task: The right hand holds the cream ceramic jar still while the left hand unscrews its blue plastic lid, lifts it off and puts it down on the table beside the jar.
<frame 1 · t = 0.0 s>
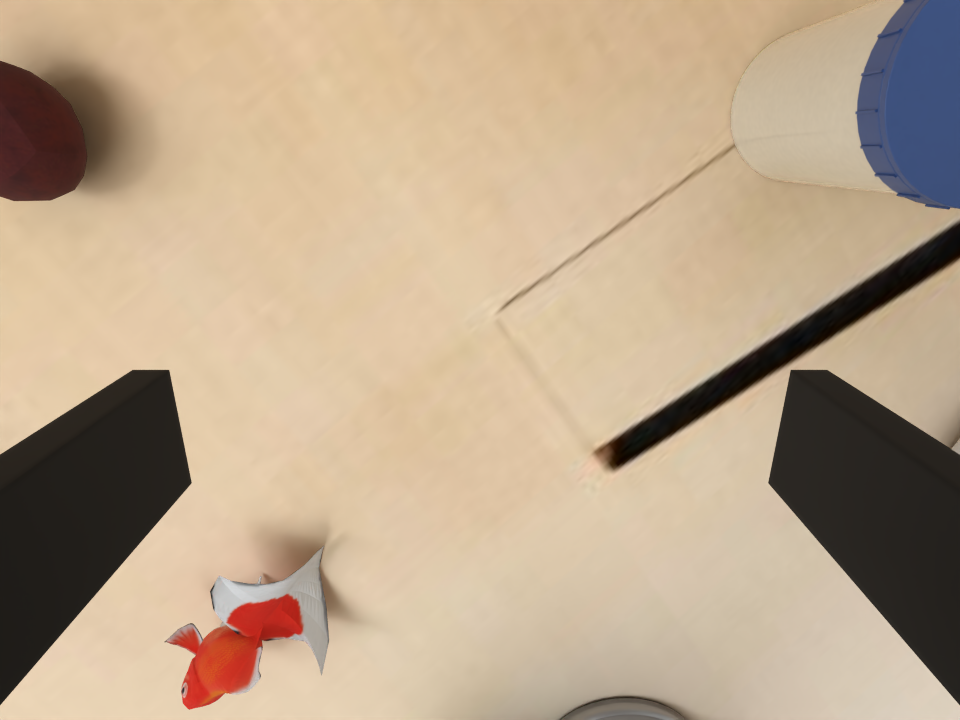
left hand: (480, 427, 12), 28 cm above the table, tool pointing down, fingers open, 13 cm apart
dark piece: (55, 136, 37), on the table
fish: (270, 587, 49), on the table
jar: (801, 108, 36), on the table
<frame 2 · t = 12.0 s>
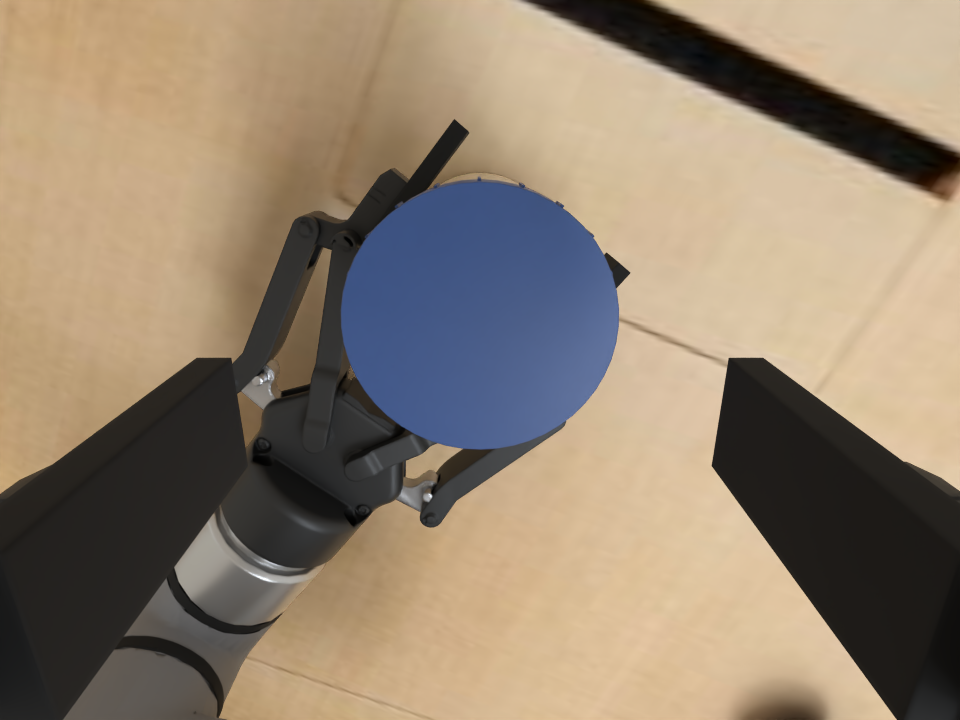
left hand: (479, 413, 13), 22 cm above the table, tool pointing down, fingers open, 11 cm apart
right hand: (542, 197, 27), fingers closed on jar, 9 cm apart
lid: (479, 324, 20), point 15 cm above the table, screwed on, not yet turned
jar: (479, 251, 34), on the table, touching right hand
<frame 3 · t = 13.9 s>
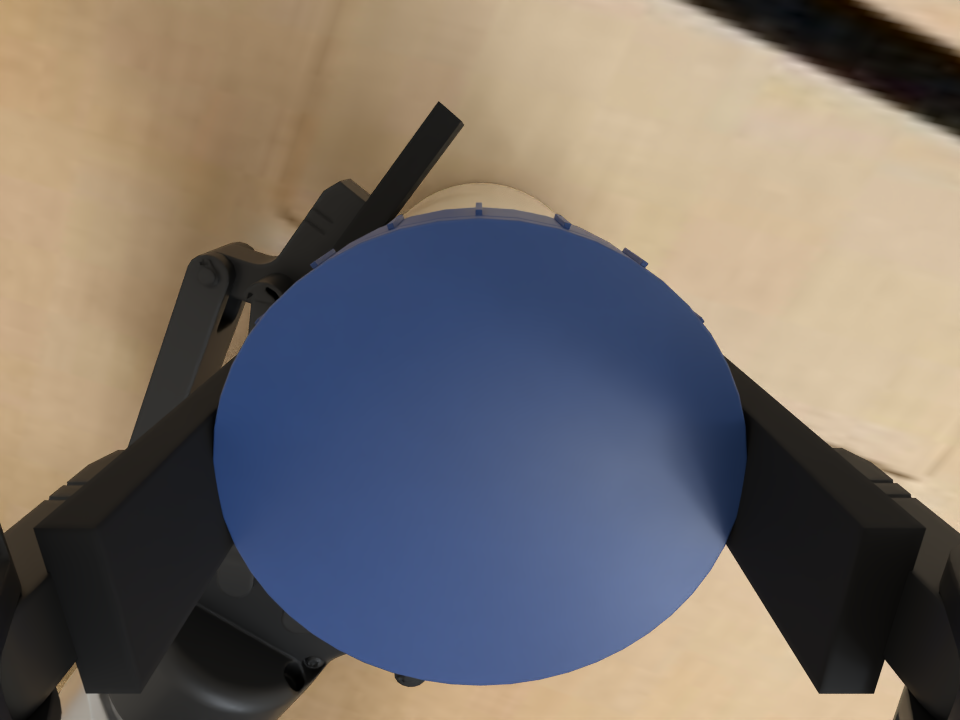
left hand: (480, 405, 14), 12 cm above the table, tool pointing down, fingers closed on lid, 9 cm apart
right hand: (576, 223, 17), fingers closed on jar, 9 cm apart
lid: (479, 478, 11), point 15 cm above the table, screwed on, not yet turned, touching left hand
jar: (480, 290, 25), on the table, touching right hand
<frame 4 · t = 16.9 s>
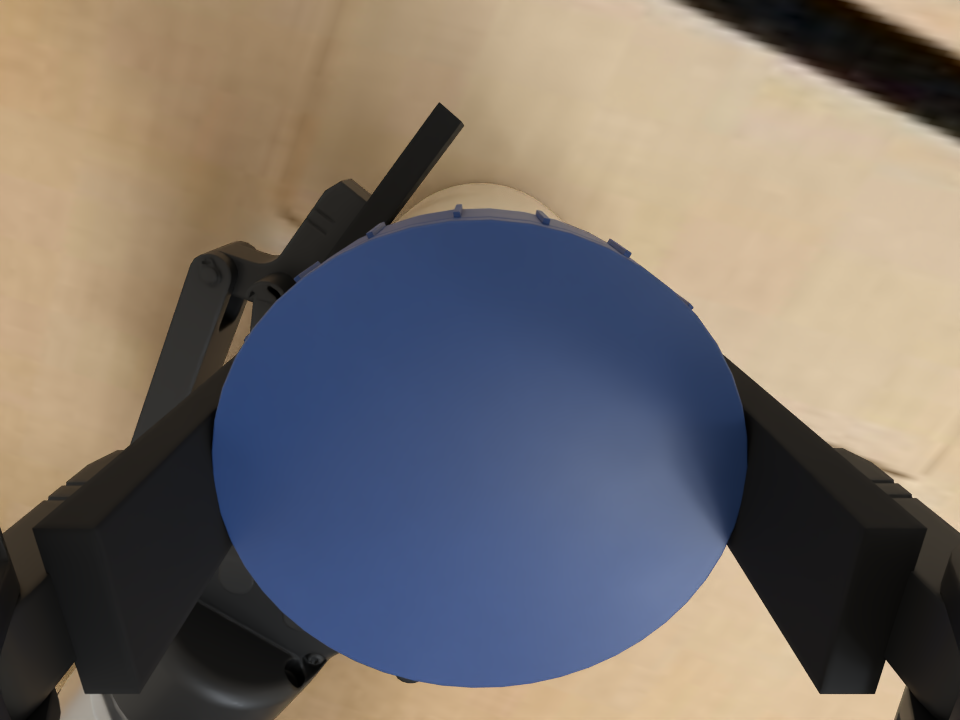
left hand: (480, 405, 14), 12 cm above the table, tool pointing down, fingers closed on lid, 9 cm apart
right hand: (575, 223, 17), fingers closed on jar, 9 cm apart
lid: (479, 480, 11), point 15 cm above the table, turned 73° so far, risen 0.2 cm, still on its thread, touching left hand
jar: (479, 289, 25), on the table, touching right hand
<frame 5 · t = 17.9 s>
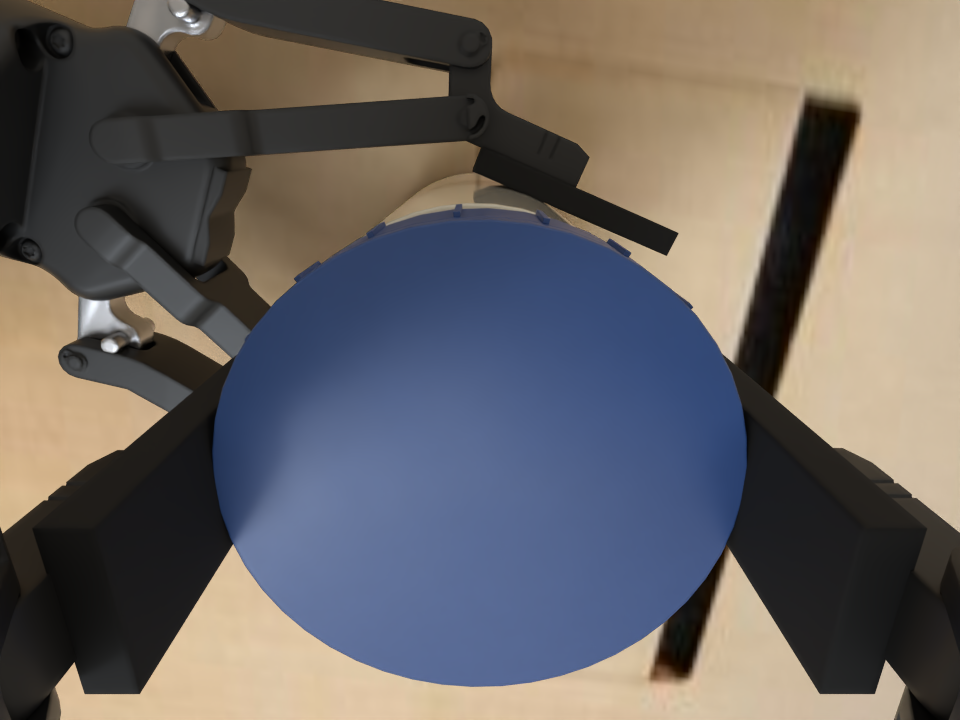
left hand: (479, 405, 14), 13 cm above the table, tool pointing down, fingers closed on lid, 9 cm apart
right hand: (594, 362, 21), fingers closed on jar, 9 cm apart
lid: (479, 479, 11), point 17 cm above the table, off its thread, touching left hand
jar: (476, 275, 26), on the table, touching right hand
when the left hand's fingers open (0 cm above the table, at t = 22.9 s): lid drops 2 cm, point 1 cm above the table.
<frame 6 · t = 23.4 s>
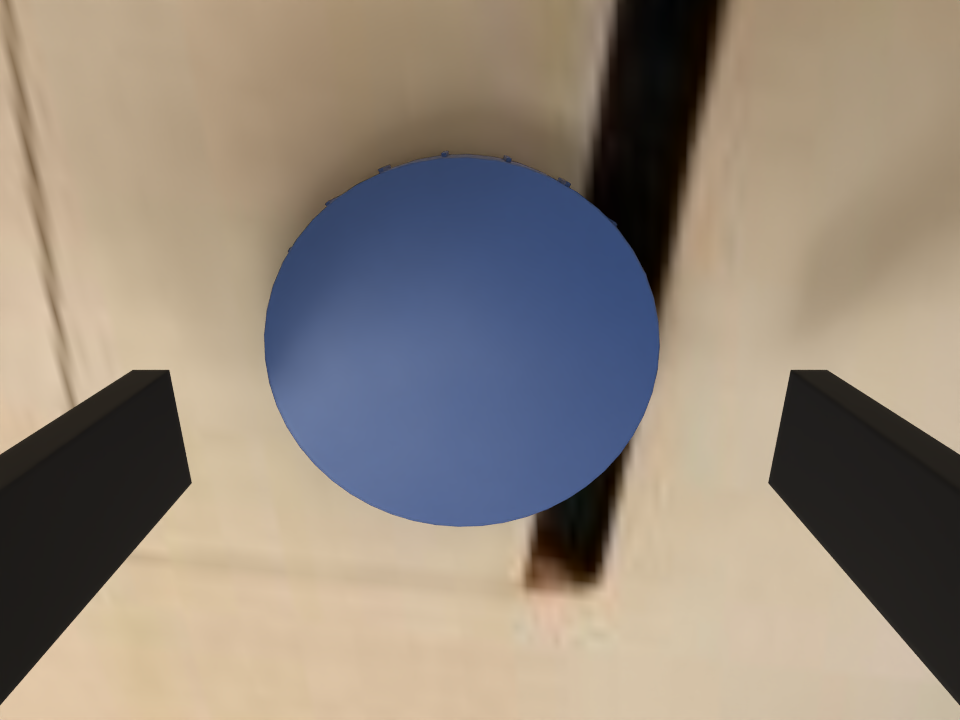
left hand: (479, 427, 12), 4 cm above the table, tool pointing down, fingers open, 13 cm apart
lid: (463, 359, 14), point 1 cm above the table, off its thread
when the right hand's fingers open (6 cm above the table, at t = 23.9 s): jar stays where it is, on the table.
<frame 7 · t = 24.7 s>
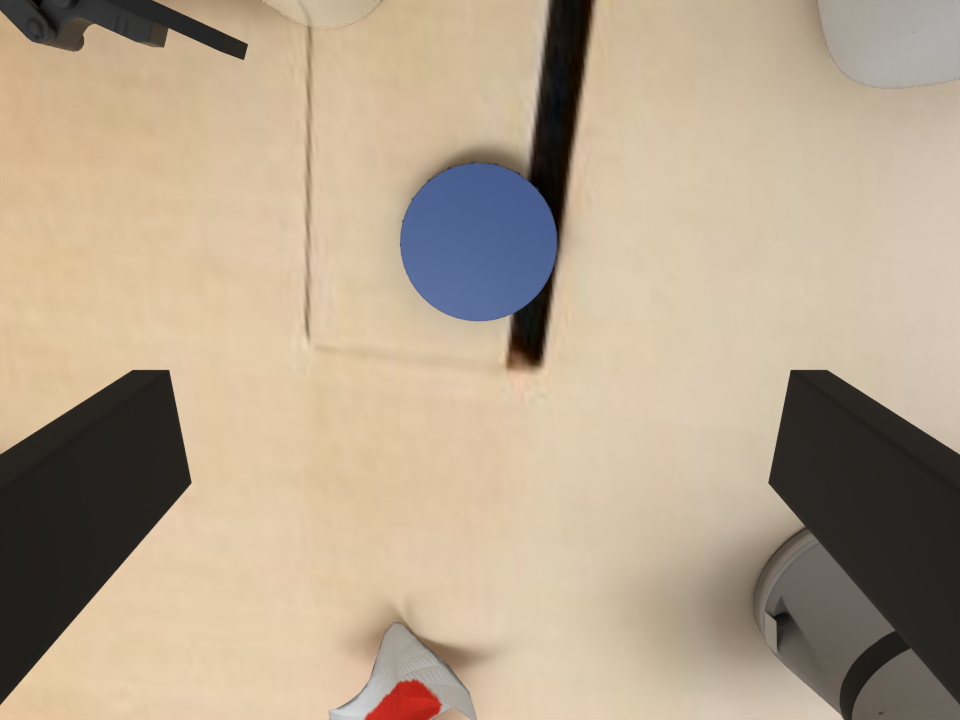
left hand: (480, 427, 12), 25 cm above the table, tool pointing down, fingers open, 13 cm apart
lid: (478, 245, 35), point 1 cm above the table, off its thread
fish: (404, 679, 49), on the table
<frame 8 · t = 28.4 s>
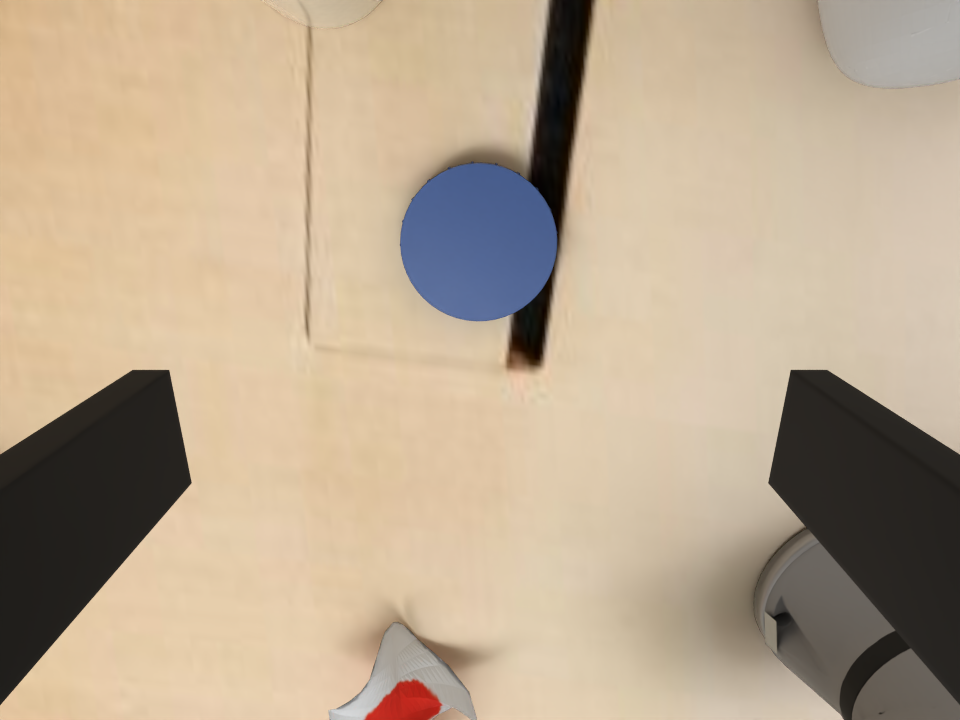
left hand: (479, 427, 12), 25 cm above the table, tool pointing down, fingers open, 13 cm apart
lid: (478, 245, 35), point 1 cm above the table, off its thread
fish: (404, 679, 49), on the table
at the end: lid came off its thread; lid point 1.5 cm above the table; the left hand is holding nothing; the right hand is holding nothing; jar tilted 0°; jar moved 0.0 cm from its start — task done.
